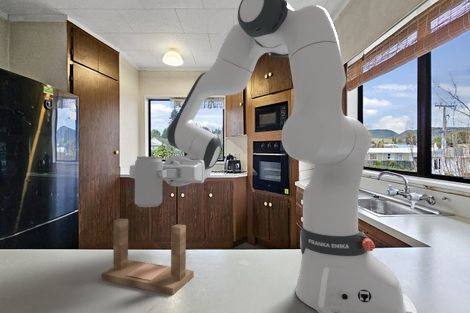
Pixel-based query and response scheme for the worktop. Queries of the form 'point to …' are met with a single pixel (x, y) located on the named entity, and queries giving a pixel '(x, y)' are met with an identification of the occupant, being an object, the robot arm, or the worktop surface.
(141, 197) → the beverage can
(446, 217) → the worktop surface
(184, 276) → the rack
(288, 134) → the robot arm
